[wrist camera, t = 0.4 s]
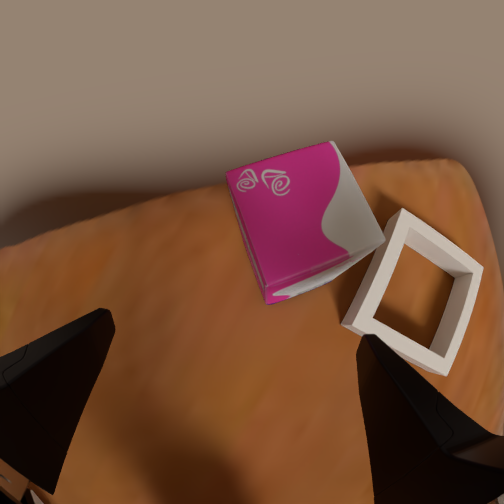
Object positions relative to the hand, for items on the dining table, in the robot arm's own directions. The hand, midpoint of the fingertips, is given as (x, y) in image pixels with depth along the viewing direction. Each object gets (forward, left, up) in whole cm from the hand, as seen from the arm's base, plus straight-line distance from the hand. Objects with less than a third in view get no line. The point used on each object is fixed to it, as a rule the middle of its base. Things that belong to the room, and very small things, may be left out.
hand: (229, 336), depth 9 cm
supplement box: (+3, -5, -13) cm, 14 cm away
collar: (-6, -13, -13) cm, 20 cm away
